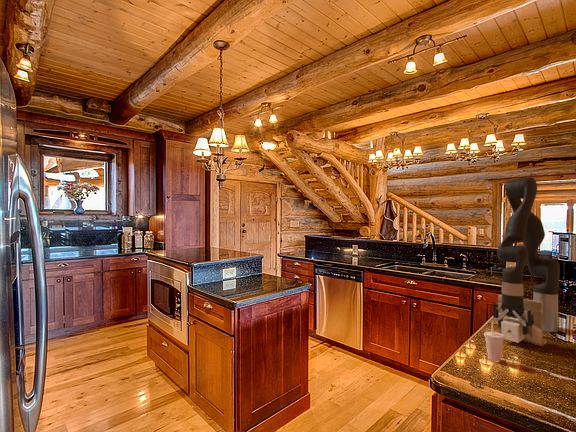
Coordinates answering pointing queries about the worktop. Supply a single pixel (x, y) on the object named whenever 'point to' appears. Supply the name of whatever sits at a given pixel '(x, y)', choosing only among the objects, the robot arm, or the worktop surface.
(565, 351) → the worktop surface
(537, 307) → the cleat board
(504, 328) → the wall box
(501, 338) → the smoothie
